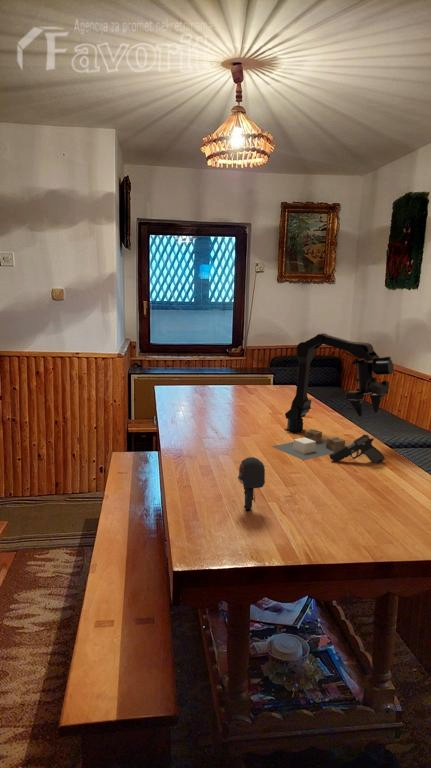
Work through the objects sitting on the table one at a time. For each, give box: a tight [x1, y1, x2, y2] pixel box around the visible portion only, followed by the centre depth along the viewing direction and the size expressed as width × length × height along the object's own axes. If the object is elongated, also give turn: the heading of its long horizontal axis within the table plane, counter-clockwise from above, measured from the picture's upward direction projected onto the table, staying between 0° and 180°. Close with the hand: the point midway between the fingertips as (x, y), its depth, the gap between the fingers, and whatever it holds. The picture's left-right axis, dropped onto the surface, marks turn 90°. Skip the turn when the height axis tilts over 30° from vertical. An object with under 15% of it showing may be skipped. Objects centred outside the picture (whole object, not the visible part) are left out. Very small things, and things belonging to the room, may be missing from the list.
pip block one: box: [304, 428, 323, 443], centre depth 204 cm, size 5×5×4 cm
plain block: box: [292, 436, 316, 454], centre depth 192 cm, size 6×6×4 cm
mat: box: [271, 438, 334, 461], centre depth 196 cm, size 18×26×1 cm
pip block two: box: [326, 436, 346, 452], centre depth 195 cm, size 5×5×4 cm
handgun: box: [329, 434, 385, 464], centre depth 181 cm, size 17×2×12 cm
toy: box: [237, 456, 266, 512], centre depth 139 cm, size 9×8×15 cm
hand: (368, 414), depth 197 cm, fingers open, 9 cm apart
